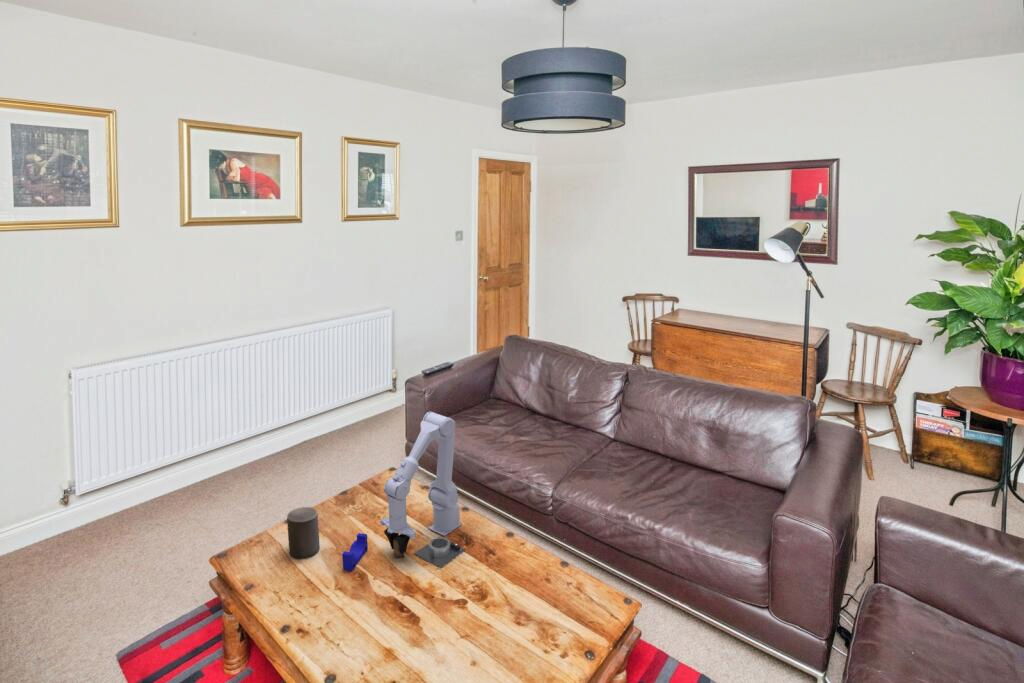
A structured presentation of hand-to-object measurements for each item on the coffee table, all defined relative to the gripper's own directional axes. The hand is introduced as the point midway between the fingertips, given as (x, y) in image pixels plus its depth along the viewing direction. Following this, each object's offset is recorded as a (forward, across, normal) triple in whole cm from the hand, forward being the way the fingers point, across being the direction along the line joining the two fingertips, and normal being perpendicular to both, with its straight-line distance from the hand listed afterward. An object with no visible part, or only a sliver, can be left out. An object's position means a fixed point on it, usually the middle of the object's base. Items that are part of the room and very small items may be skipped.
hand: (398, 550), depth 196 cm
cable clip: (+2, -10, -10) cm, 15 cm away
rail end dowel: (+2, 0, 0) cm, 2 cm away
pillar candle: (+2, -27, -17) cm, 32 cm away
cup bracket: (+2, +10, +9) cm, 14 cm away
